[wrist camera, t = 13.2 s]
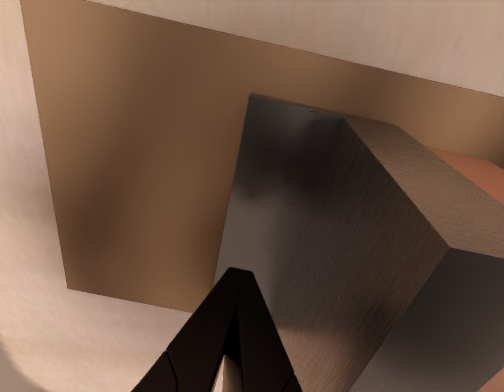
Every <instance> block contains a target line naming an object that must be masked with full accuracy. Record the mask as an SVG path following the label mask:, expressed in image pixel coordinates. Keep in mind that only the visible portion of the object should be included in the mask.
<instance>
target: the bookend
mask: <svg viewBox="0 0 504 392" xmlns="http://www.w3.org/2000/svg"><path fill="white" fill-rule="evenodd" d="M229 267H235V268H240V269H245V270H250V271H252V272H253V273H254V276H255V278H256V281H257V283H258V285H259V288H260V290H261V293H262V295H263V297H264V300H265V302H266V305H267V307H268V309H269V312H270V314H271V317H272V319H273V321H274V324H275V326H276V329H277V331H278V333H279V336H280V338H281V341H282V343H283V346H284V348H285V350H286V353H287V355H288V358H289V360H290V362H291V365H292V367H293V370H294V372H295V373H294V375H296V376H297V379H298V381H299V384H300V386H301V389H302V391H303V392H477V391H478V390H479V389H480V388H481V387H483V386H484V385H485V384H486V383H487V382H488V381H489V380H490V379H492V378H493V377H494V376H495V375H496V374H497V373H498V372H499V371H501V370H502V369H503V368H504V205H503V204H502V203H500V202H499V201H498V200H496V199H495V198H493V197H492V196H491V195H489V194H488V193H487V192H485V191H484V190H483V189H481V188H480V187H479V186H477V185H476V184H475V183H473V182H472V181H471V180H469V179H468V178H467V177H465V176H464V175H463V174H461V173H460V172H459V171H457V170H456V169H455V168H453V167H452V166H451V165H449V164H448V163H447V162H445V161H444V160H443V159H441V158H440V157H439V156H437V155H436V154H435V153H433V152H432V151H431V150H429V149H428V148H427V147H425V146H424V145H422V144H421V143H420V142H418V141H417V140H416V139H414V138H413V137H412V136H410V135H409V134H408V133H406V132H405V131H404V130H402V129H401V128H400V127H398V126H397V125H394V124H389V123H385V122H380V121H376V120H371V119H367V118H363V117H358V116H354V115H349V114H345V113H340V112H336V111H331V110H327V109H322V108H318V107H314V106H309V105H305V104H300V103H296V102H291V101H287V100H282V99H278V98H274V97H269V96H265V95H260V94H256V93H250V95H249V100H248V105H247V110H246V115H245V121H244V126H243V131H242V137H241V142H240V147H239V152H238V158H237V163H236V168H235V173H234V179H233V184H232V189H231V194H230V200H229V205H228V210H227V216H226V221H225V226H224V231H223V237H222V242H221V247H220V252H219V258H218V263H217V268H216V274H215V279H214V284H213V287H214V286H215V284H216V283H217V282H218V280H219V279H220V278H221V276H222V275H223V274H224V273H225V271H226V270H227V269H228V268H229Z"/></svg>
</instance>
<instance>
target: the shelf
mask: <svg viewBox="0 0 504 392" xmlns="http://www.w3.org/2000/svg"><path fill="white" fill-rule="evenodd" d="M20 4H21V10H22V16H23V22H24V28H25V34H26V40H27V46H28V52H29V59H30V65H31V71H32V77H33V83H34V89H35V95H36V101H37V107H38V113H39V119H40V125H41V131H42V137H43V143H44V149H45V155H46V161H47V167H48V173H49V179H50V185H51V191H52V197H53V203H54V209H55V216H56V222H57V228H58V234H59V240H60V246H61V252H62V258H63V264H64V270H65V276H66V282H67V288H68V289H72V290H77V291H82V292H87V293H93V294H98V295H103V296H108V297H113V298H118V299H124V300H129V301H134V302H139V303H144V304H150V305H155V306H160V307H165V308H170V309H175V310H181V311H186V312H191V313H194V312H195V310H196V309H197V308H198V306H199V305H200V304H201V303H202V301H203V300H204V299H205V297H206V296H207V295H208V293H209V292H210V291H211V289H212V288H213V284H214V279H215V274H216V268H217V263H218V258H219V252H220V247H221V242H222V237H223V231H224V226H225V221H226V216H227V210H228V205H229V200H230V194H231V189H232V184H233V179H234V173H235V168H236V163H237V158H238V152H239V147H240V142H241V137H242V131H243V126H244V121H245V115H246V110H247V105H248V100H249V95H250V93H256V94H260V95H265V96H269V97H274V98H278V99H282V100H287V101H291V102H296V103H300V104H305V105H309V106H314V107H318V108H322V109H327V110H331V111H336V112H340V113H345V114H349V115H354V116H358V117H363V118H367V119H371V120H376V121H380V122H385V123H389V124H394V125H397V126H398V127H400V128H401V129H402V130H404V131H405V132H406V133H408V134H409V135H410V136H412V137H413V138H414V139H416V140H417V141H418V142H420V143H421V144H422V145H424V146H427V147H432V148H436V149H441V150H445V151H450V152H454V153H459V154H463V155H468V156H472V157H477V158H481V159H486V160H489V161H490V162H492V163H494V164H495V165H497V166H499V167H500V168H502V169H504V97H499V96H495V95H491V94H486V93H482V92H478V91H474V90H469V89H465V88H461V87H456V86H452V85H448V84H443V83H439V82H435V81H430V80H426V79H422V78H417V77H413V76H409V75H405V74H400V73H396V72H392V71H387V70H383V69H379V68H374V67H370V66H366V65H361V64H357V63H353V62H348V61H344V60H340V59H336V58H331V57H327V56H323V55H318V54H314V53H310V52H305V51H301V50H297V49H292V48H288V47H284V46H280V45H275V44H271V43H267V42H262V41H258V40H254V39H249V38H245V37H241V36H236V35H232V34H228V33H223V32H219V31H215V30H211V29H206V28H202V27H198V26H193V25H189V24H185V23H180V22H176V21H172V20H167V19H163V18H159V17H154V16H150V15H146V14H142V13H137V12H133V11H129V10H124V9H120V8H116V7H111V6H107V5H103V4H98V3H94V2H90V1H85V0H20Z"/></svg>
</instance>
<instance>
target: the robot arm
mask: <svg viewBox="0 0 504 392" xmlns="http://www.w3.org/2000/svg"><path fill="white" fill-rule="evenodd" d="M223 357H224V371H223V389H222V392H303V391H302V389H301V386H300V384H299V381H298V379H297V376H296V375H294V373H295V372H294V370H293V367H292V365H291V362H290V360H289V358H288V355H287V353H286V350H285V348H284V346H283V343H282V341H281V338H280V336H279V333H278V331H277V329H276V326H275V324H274V321H273V319H272V317H271V314H270V312H269V309H268V307H267V305H266V302H265V300H264V297H263V295H262V293H261V290H260V288H259V285H258V283H257V281H256V278H255V276H254V273H253V272H252V271H250V270H245V269H240V268H235V267H229V268H228V269H227V270H226V271H225V273H224V274H223V275H222V276H221V278H220V279H219V280H218V282H217V283H216V284H215V286H214V287H213V288H212V289H211V291H210V292H209V293H208V295H207V296H206V297H205V299H204V300H203V301H202V303H201V304H200V305H199V306H198V308H197V309H196V310H195V312H194V313H193V314H192V316H191V317H190V318H189V319H188V321H187V322H186V323H185V325H184V326H183V327H182V329H181V330H180V331H179V333H178V334H177V335H176V336H175V338H174V339H173V340H172V342H171V343H170V344H169V346H168V347H167V348H166V351H164V352H163V353H162V354H161V356H160V357H159V358H158V360H157V361H156V362H155V364H154V365H153V366H152V367H151V368H150V370H149V371H148V372H147V373H146V375H145V376H144V377H143V378H142V380H141V381H140V382H139V383H138V384H137V385H136V386H135V387H134V389H133V390H132V391H131V392H214V388H215V385H216V381H217V378H218V374H219V371H220V368H221V364H222V361H223Z"/></svg>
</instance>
